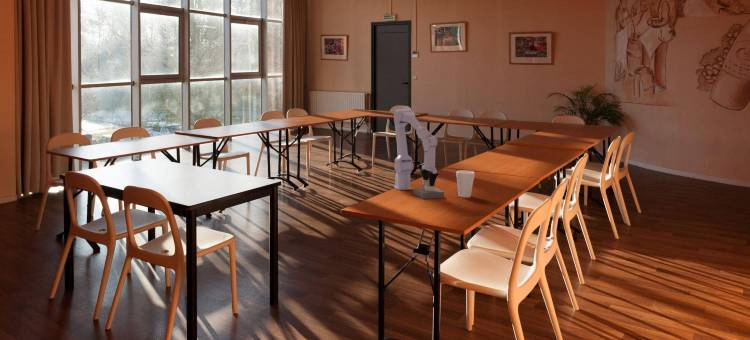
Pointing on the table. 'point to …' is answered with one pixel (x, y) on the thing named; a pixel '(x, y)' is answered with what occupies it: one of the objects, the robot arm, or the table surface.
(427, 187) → the cream cube
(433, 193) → the charcoal plinth
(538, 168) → the table surface
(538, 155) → the table surface
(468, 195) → the foam cup
